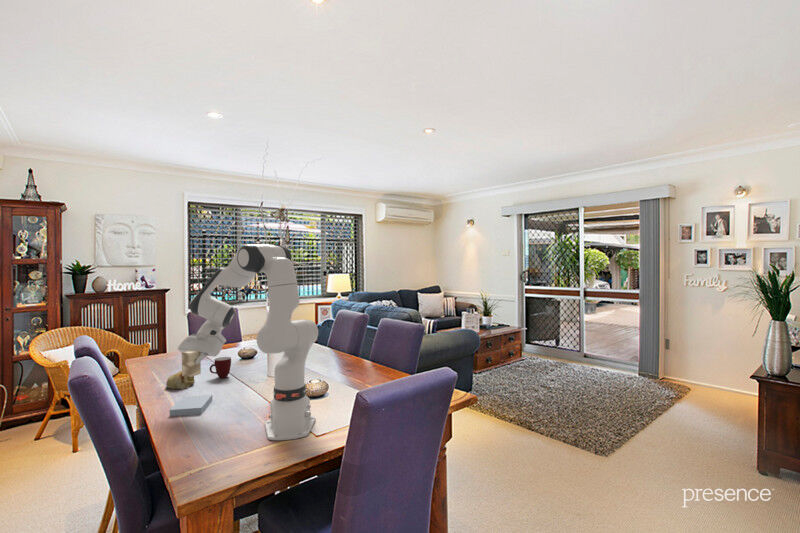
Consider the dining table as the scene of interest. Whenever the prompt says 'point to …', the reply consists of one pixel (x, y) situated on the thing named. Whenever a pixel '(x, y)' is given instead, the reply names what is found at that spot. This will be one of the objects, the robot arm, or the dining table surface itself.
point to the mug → (222, 366)
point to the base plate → (191, 405)
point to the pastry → (179, 381)
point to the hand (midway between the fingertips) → (189, 362)
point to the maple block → (190, 363)
